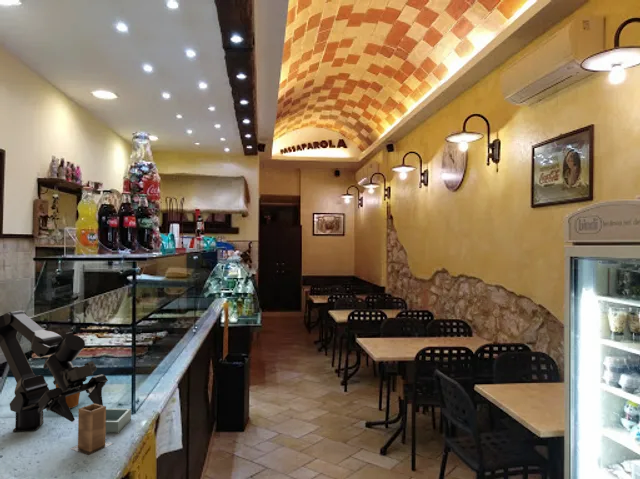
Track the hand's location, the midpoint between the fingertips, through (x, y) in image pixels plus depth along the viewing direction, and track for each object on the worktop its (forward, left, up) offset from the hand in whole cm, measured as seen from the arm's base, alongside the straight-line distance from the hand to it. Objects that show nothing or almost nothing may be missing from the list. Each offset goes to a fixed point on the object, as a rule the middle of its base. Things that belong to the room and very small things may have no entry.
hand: (88, 415), depth 133 cm
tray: (+2, +13, -9) cm, 16 cm away
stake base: (+1, -1, -9) cm, 9 cm away
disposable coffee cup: (-16, +35, -9) cm, 39 cm away
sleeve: (+1, -1, -8) cm, 9 cm away
